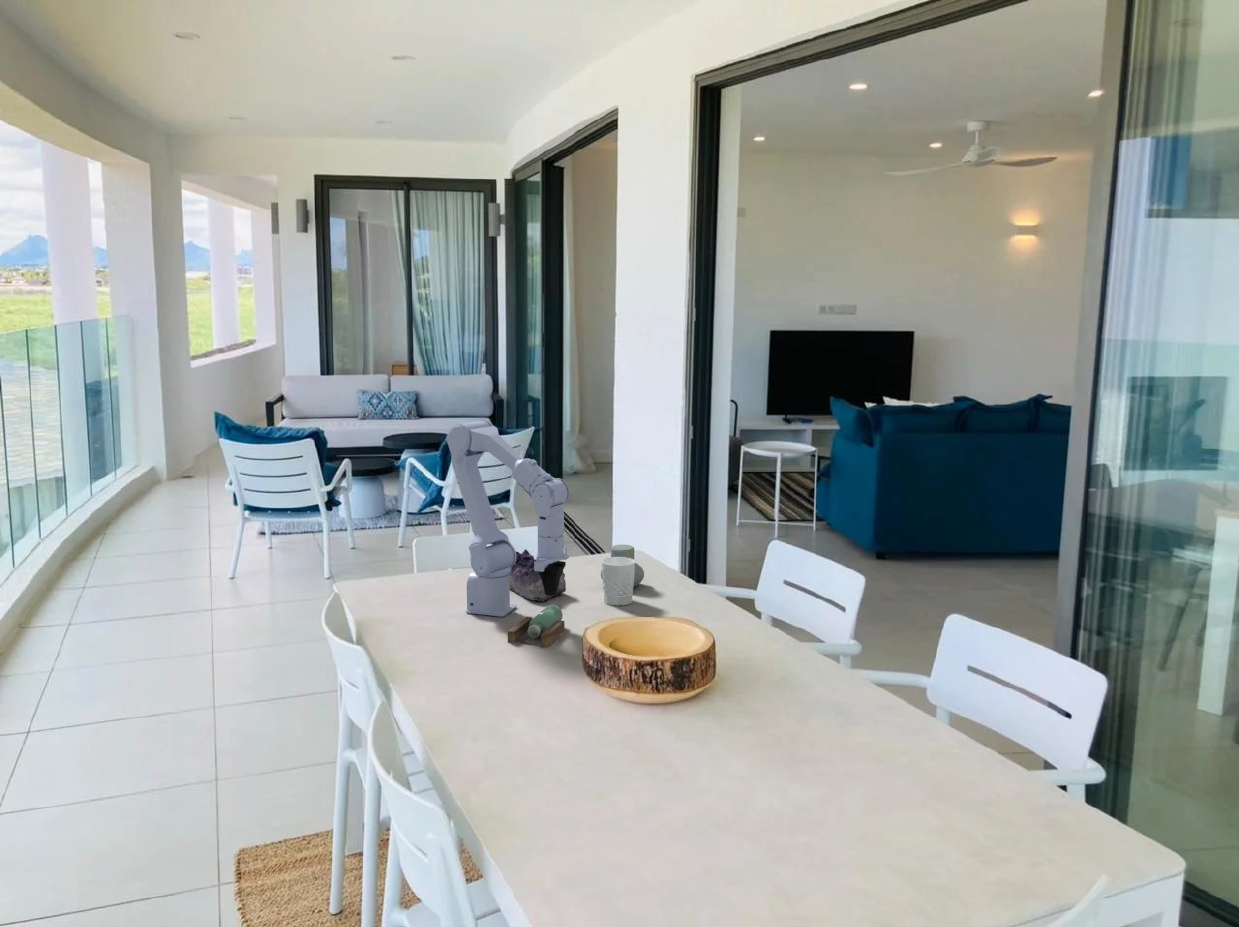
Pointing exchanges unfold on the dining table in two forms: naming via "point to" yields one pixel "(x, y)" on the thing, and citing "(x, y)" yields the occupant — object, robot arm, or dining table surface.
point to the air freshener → (628, 553)
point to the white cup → (618, 580)
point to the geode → (530, 578)
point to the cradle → (547, 638)
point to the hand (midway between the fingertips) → (550, 594)
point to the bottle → (544, 620)
